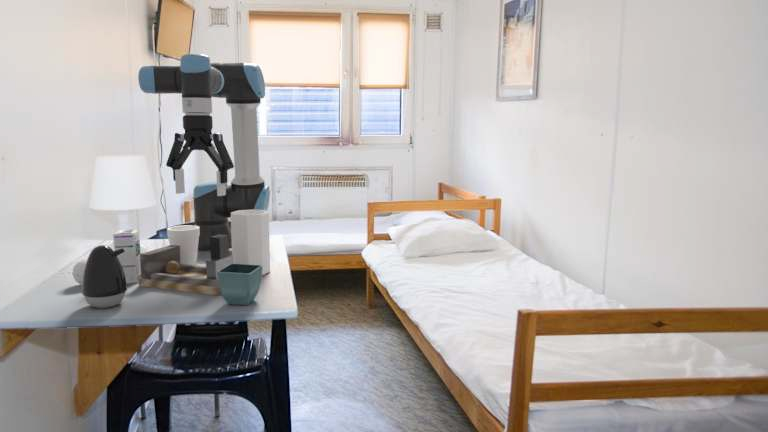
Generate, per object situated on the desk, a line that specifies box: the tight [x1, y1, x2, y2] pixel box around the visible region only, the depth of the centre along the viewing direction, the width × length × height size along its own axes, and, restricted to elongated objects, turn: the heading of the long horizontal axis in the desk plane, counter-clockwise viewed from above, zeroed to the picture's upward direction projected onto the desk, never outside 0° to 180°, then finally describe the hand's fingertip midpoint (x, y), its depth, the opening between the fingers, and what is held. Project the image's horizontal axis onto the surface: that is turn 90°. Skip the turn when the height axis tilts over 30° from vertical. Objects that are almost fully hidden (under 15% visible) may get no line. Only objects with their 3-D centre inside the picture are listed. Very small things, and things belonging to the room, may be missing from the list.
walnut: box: [165, 261, 180, 275], centre depth 174 cm, size 4×4×4 cm
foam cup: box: [166, 224, 200, 265], centre depth 188 cm, size 10×9×13 cm
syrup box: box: [112, 229, 142, 285], centre depth 174 cm, size 6×6×14 cm
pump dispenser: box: [81, 244, 128, 309], centre depth 151 cm, size 10×10×15 cm
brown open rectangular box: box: [138, 244, 222, 296], centre depth 171 cm, size 26×14×9 cm, turn 70°
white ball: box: [61, 258, 88, 286], centre depth 170 cm, size 10×7×7 cm
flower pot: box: [217, 264, 263, 306], centre depth 155 cm, size 9×9×9 cm
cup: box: [230, 210, 271, 277], centre depth 184 cm, size 11×11×18 cm
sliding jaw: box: [205, 234, 234, 279], centre depth 168 cm, size 3×8×12 cm, turn 160°
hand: (200, 194), depth 165 cm, fingers open, 13 cm apart
